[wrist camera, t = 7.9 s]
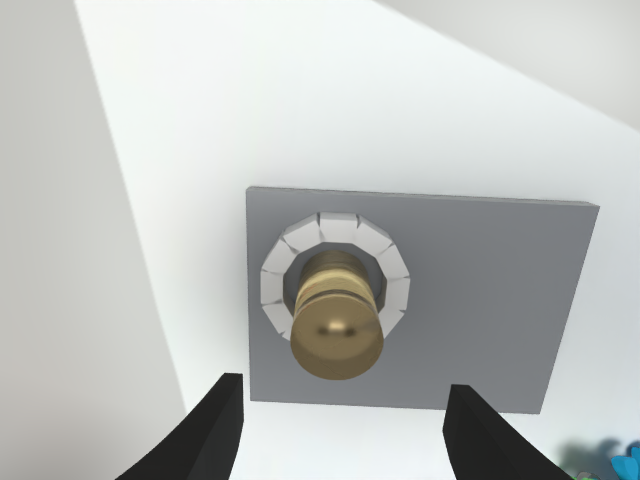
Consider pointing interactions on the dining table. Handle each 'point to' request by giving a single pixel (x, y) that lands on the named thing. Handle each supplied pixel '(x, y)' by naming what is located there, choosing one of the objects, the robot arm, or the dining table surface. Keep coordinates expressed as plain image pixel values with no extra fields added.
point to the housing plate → (420, 292)
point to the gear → (620, 467)
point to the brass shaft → (335, 318)
